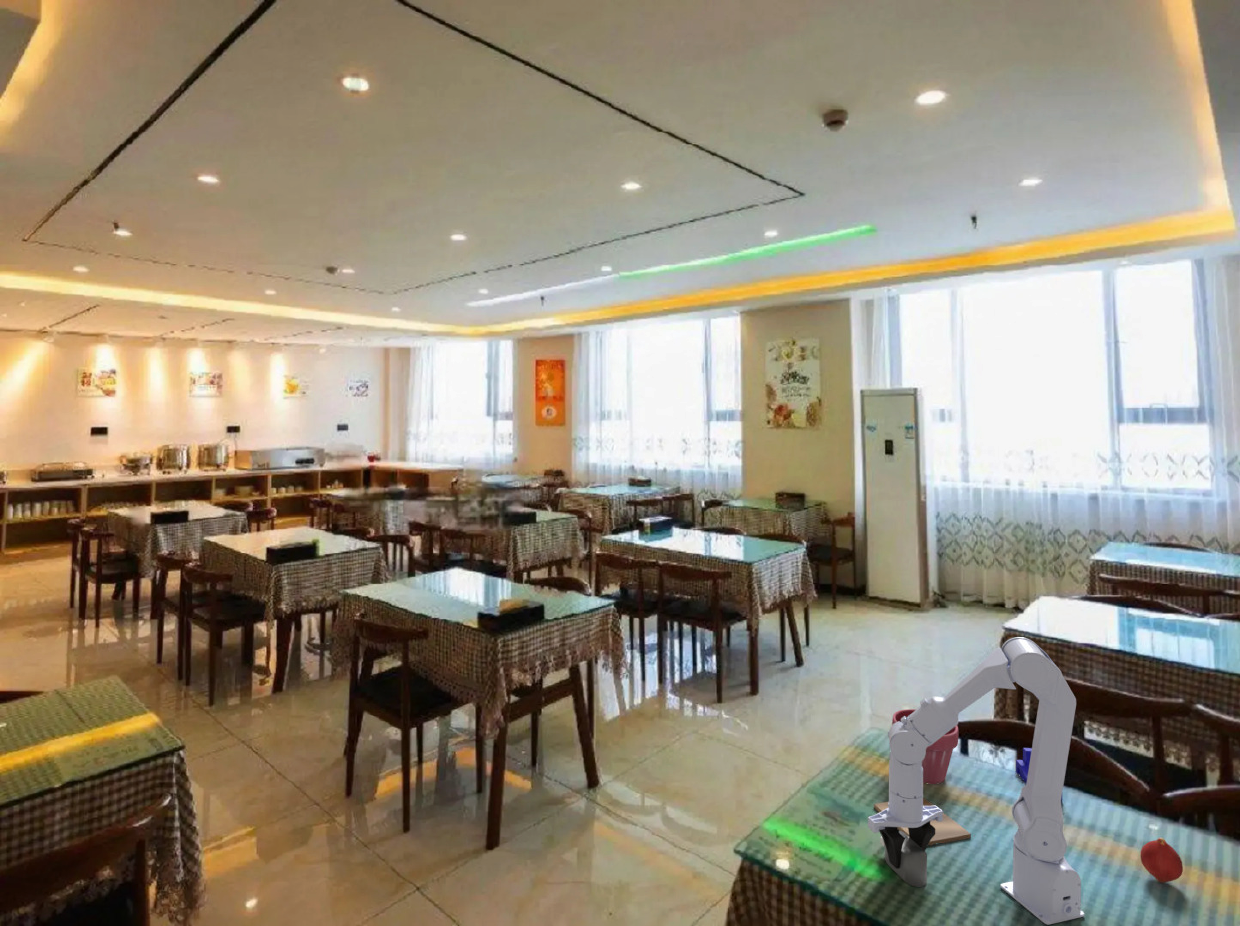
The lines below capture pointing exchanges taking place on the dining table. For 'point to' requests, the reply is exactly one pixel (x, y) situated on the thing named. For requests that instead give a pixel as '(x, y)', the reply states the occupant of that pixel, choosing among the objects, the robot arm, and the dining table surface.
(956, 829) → the walnut pad
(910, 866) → the grey rounded bottle
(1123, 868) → the dining table surface
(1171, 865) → the onion
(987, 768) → the dining table surface
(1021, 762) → the cable clip
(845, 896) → the dining table surface
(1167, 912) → the dining table surface
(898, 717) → the plant pot
